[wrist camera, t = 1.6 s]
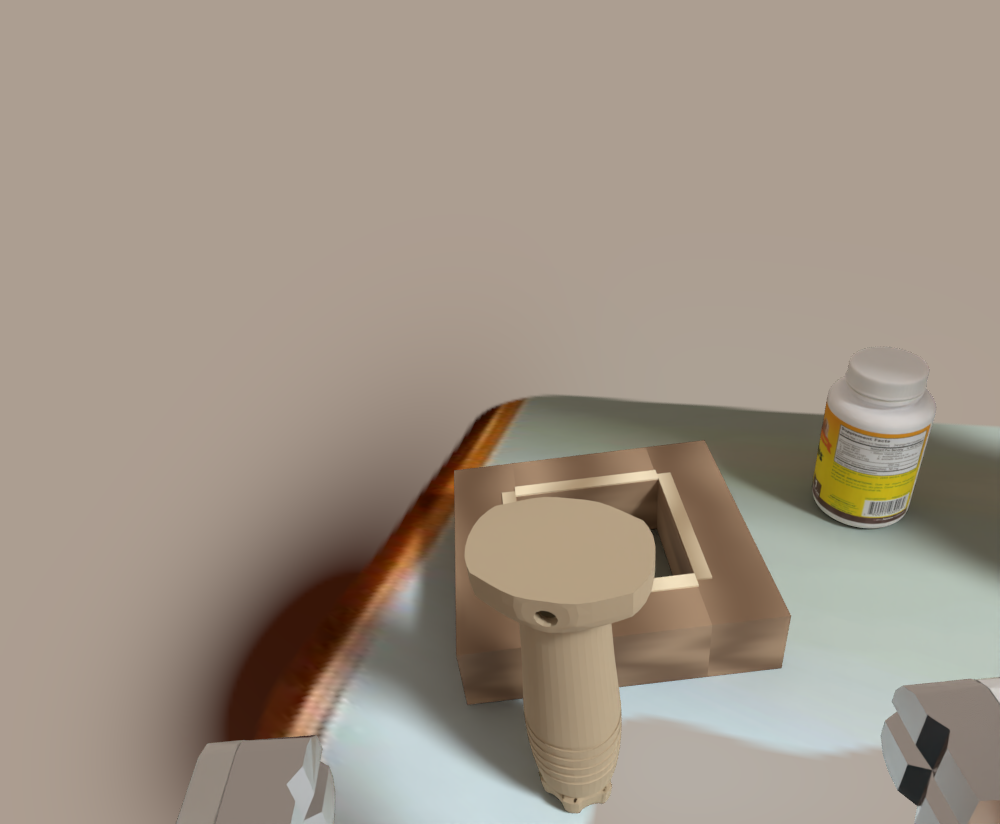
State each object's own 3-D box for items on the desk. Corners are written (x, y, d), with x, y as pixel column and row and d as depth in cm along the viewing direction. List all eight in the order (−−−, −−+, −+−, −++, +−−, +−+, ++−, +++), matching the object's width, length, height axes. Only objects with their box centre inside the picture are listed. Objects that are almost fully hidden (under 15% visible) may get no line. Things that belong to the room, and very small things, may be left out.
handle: (522, 720, 36) (486, 490, 27) (654, 744, 34) (660, 506, 25) (497, 819, 32) (446, 588, 23) (644, 851, 30) (648, 615, 22)
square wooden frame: (701, 488, 48) (704, 438, 46) (781, 668, 36) (791, 614, 34) (462, 516, 48) (453, 469, 46) (467, 704, 37) (455, 654, 34)
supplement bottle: (833, 463, 49) (860, 329, 43) (921, 497, 45) (963, 356, 39) (793, 507, 46) (816, 369, 40) (884, 547, 42) (924, 403, 36)
